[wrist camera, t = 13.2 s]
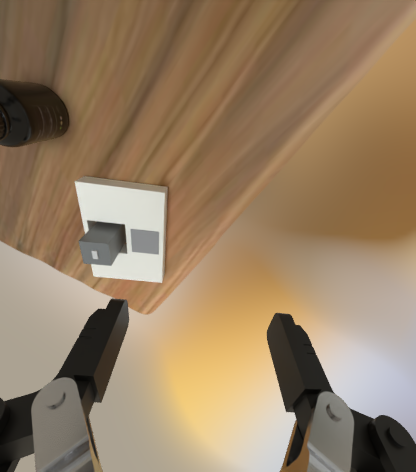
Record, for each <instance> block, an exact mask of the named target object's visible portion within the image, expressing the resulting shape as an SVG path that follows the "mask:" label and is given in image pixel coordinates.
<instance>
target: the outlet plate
mask: <svg viewBox="0 0 416 472" xmlns="http://www.w3.org/2000/svg"><path fill="white" fill-rule="evenodd" d="M75 185H76V190H77V195H78V200H79V205H80V210H81V215H82V220H83V225H84V230H85V234H86V233H87V232H88V231H89V230H90V229H91V227H92V226H93V225H94V224H95V223H96V221H99V222H108V223H117V224H125V229H126V242H127V244H124V245H123V247H122V249H121V251H120V252H119V254H118V256H117V257H116V259H115V261H114V262H113V264H112V266H107V265H96V264H91V266H92V271H93V276H96V277H106V278H117V279H128V280H139V281H150V282H160V283H162V281H163V277H164V271H165V244H166V218H167V192H168V187H165V186H157V185H150V184H142V183H134V182H126V181H119V180H111V179H103V178H96V177H88V176H83V177H82V178H80V179H78V180H76V181H75Z"/></svg>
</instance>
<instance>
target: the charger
mask: <svg viewBox="0 0 416 472" xmlns="http://www.w3.org/2000/svg"><path fill="white" fill-rule="evenodd" d="M125 242H126V229H125V224H117V223H108V222H99V221H97V222H96V223H95V224H94V225H93V226H92V227H91V229H90V230H89V231H88V232H87V233H86V234H85V235H84V236H83V237H82V238H81V239H80V240H79V245H80V249H81V253H82V258H83V262H84V264H96V265H107V266H112V264H113V262H114V261H115V259H116V257H117V256H118V254H119V252H120V251H121V249H122V247H123V245H124V244H125Z"/></svg>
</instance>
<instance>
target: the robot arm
mask: <svg viewBox="0 0 416 472" xmlns="http://www.w3.org/2000/svg"><path fill="white" fill-rule="evenodd" d="M128 323H129V313H128V303H127V300H123V299H111V300H110V302H109V304H108V305H107V308H106V309H98V310H97V311H95V312H94V313H93V314H92V315H91V316H90V317H89V319H88V321H87V323H86V324H85V326H84V329H83V330H82V331H81V333H80V335H79V338H78V339H77V341H76V342H75V344H74V346H73V348H72V350H71V351H70V353H69V355H68V357H67V359H66V361H65V362H64V364H63V366H62V368H61V370H60V371H59V373H58V374H57V376H56V377H55V378H54V379H53V380H52V381H51V382H50V383H48V384H47V385H46V386H45V387H43V388H42V389H40V390H39V391H37V392H34V393H31V394H28V395H25V396H21V397H18V398H14V399H10V400H7V401H3V400H2V399H1V398H0V472H14V471H15V468H16V466H17V464H18V462H19V460H20V458H22V457H25V456H28V455H30V454H33V453H35V467H36V472H103V470H102V468H101V464H100V460H99V456H98V452H97V448H96V444H95V439H94V435H93V431H92V427H91V423H90V419H89V414H90V411H91V408H92V405H93V403H94V402H100V403H101V402H102V399H103V396H104V394H105V391H106V388H107V385H108V382H109V379H110V376H111V374H112V371H113V368H114V365H115V362H116V359H117V357H118V354H119V351H120V348H121V345H122V342H123V340H124V337H125V334H126V331H127V328H128ZM267 341H268V345H269V349H270V352H271V356H272V360H273V364H274V368H275V371H276V375H277V379H278V383H279V387H280V390H281V394H282V398H283V402H284V406H285V409H286V412H295V415H296V419H297V420H296V421H295V424H294V427H293V431H292V434H291V438H290V441H289V445H288V448H287V452H286V455H285V458H284V462H283V466H282V468H281V470H280V472H416V444H415V442H414V441H413V439H412V437H411V436H410V434H409V433H408V432H407V430H406V429H405V428H404V427H403V426H402V425H401V424H400V423H398V422H397V421H396V420H394V419H392V418H391V417H388V416H385V415H380V416H378V417H377V418H375V419H373V418H371V417H368V416H366V415H364V414H361V413H359V412H357V411H354V410H352V409H350V408H349V407H348V406H347V404H346V403H345V402H344V401H343V400H342V399H341V398H340V397H339V396H337V395H336V394H335V393H334V392H333V391H332V388H331V386H330V384H329V382H328V380H327V377H326V375H325V373H324V371H323V368H322V366H321V364H320V362H319V359H318V357H317V355H316V353H315V350H314V348H313V347H312V344H311V341H310V339H309V337H308V335H307V333H306V332H305V331H304V330H303V329H302V327H301V326H300V325H295V323H294V320H293V318H292V316H291V315H290V314H282V313H276V314H275V315H274V317H273V319H272V321H271V323H270V325H269V327H268V330H267Z"/></svg>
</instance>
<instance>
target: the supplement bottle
mask: <svg viewBox="0 0 416 472" xmlns="http://www.w3.org/2000/svg"><path fill="white" fill-rule="evenodd" d="M67 127H68V115H67V111H66V109H65V106H64V105H63V103H62V101H61V100H60V99H59V97H58V96H57V95H56V94H55V93H54V92H52V91H51V90H50V89H48V88H46V87H44V86H42V85H39V84H36V83H29V82H21V81H12V80H3V79H0V145H2V146H6V147H20V146H24V145H29V144H33V143H37V142H41V141H45V140H49V139H53V138H57V137H59V136H61V135H63V134H64V133H65V131H66V129H67Z"/></svg>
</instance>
